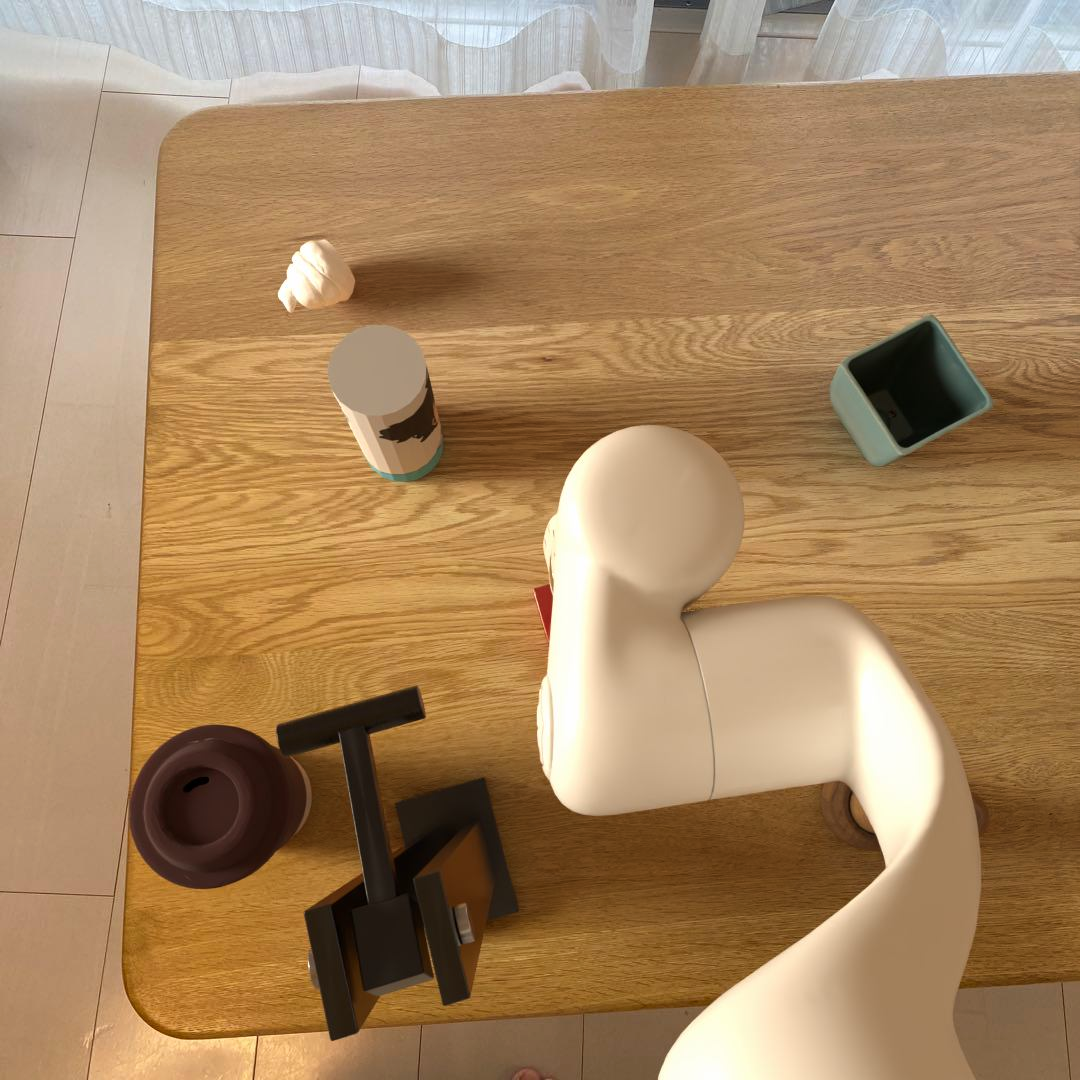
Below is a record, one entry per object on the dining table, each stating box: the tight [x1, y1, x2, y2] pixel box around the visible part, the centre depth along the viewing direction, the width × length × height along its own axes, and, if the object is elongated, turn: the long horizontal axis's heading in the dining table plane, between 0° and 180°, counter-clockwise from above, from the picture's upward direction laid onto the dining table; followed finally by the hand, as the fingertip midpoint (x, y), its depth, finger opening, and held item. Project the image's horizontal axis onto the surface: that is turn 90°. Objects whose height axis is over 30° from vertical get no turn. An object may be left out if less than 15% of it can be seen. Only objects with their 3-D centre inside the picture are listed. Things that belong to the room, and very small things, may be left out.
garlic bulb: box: [277, 239, 356, 314], centre depth 79 cm, size 6×6×5 cm
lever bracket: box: [303, 776, 520, 1042], centre depth 52 cm, size 10×7×39 cm
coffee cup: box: [128, 724, 313, 890], centre depth 64 cm, size 10×10×15 cm
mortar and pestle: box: [820, 781, 991, 852], centre depth 63 cm, size 7×6×18 cm
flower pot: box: [828, 313, 996, 468], centre depth 75 cm, size 9×9×9 cm
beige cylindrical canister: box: [327, 324, 445, 483], centre depth 71 cm, size 7×7×15 cm
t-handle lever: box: [275, 684, 435, 997], centre depth 37 cm, size 11×6×2 cm, turn 16°
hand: (594, 618), depth 66 cm, fingers closed
